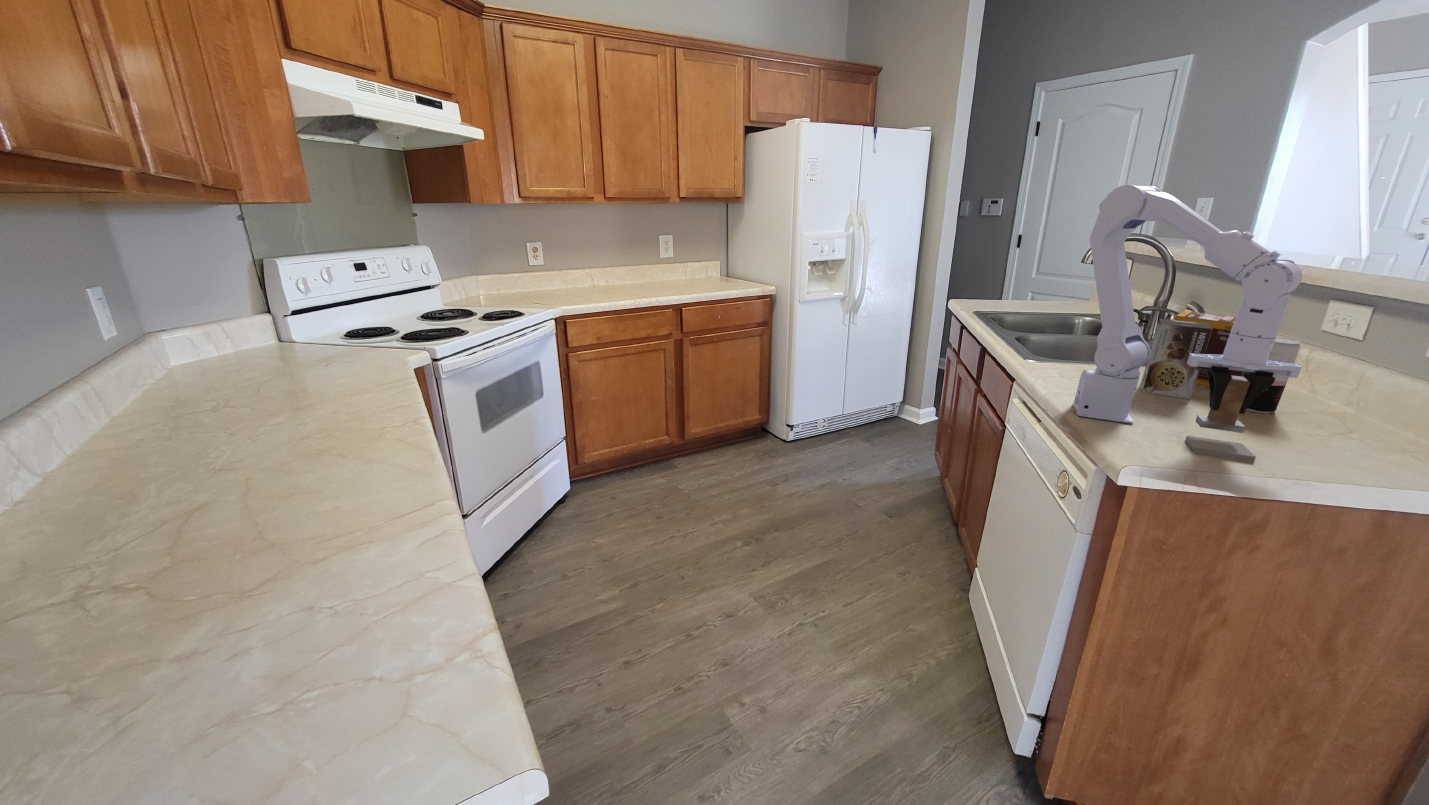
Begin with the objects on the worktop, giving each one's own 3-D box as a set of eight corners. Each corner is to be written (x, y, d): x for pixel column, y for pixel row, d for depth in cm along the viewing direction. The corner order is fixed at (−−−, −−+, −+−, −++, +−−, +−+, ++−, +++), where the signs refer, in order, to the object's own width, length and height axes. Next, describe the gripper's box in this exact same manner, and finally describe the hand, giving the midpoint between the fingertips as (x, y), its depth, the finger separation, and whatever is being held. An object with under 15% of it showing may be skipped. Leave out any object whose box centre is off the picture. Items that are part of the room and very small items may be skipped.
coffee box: (1187, 392, 131) (1210, 322, 125) (1190, 400, 126) (1214, 328, 120) (1139, 384, 135) (1158, 317, 130) (1140, 392, 130) (1161, 322, 125)
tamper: (1200, 427, 102) (1217, 378, 98) (1195, 421, 104) (1211, 373, 101) (1243, 433, 99) (1262, 383, 96) (1236, 426, 102) (1254, 378, 99)
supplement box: (1236, 393, 131) (1260, 326, 125) (1155, 377, 141) (1174, 314, 136) (1242, 384, 137) (1266, 320, 132) (1165, 369, 148) (1183, 309, 143)
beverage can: (1244, 401, 125) (1269, 334, 120) (1281, 411, 120) (1309, 342, 115) (1227, 405, 123) (1251, 337, 118) (1264, 415, 117) (1291, 345, 112)
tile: (1184, 443, 105) (1194, 456, 100) (1186, 435, 104) (1197, 448, 99) (1238, 451, 102) (1252, 465, 97) (1241, 443, 101) (1255, 456, 96)
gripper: (1207, 334, 95) (1182, 410, 99) (1321, 345, 89) (1289, 425, 94) (1193, 326, 101) (1170, 398, 105) (1300, 335, 95) (1271, 411, 100)
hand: (1225, 410), depth 100 cm, fingers closed on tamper, 3 cm apart
